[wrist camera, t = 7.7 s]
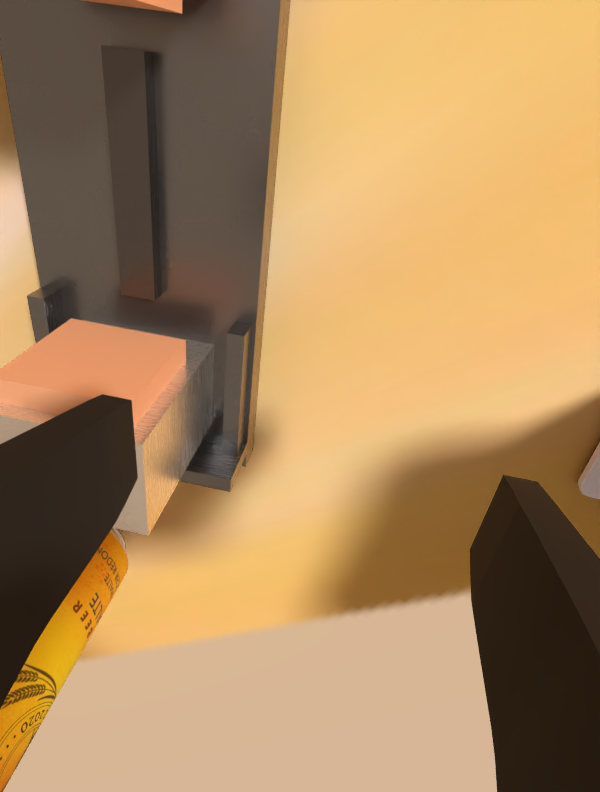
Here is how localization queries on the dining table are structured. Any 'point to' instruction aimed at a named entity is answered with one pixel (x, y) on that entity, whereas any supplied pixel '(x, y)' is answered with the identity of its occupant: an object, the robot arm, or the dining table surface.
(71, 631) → the beer can
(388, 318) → the dining table surface
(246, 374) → the rail
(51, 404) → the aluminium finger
